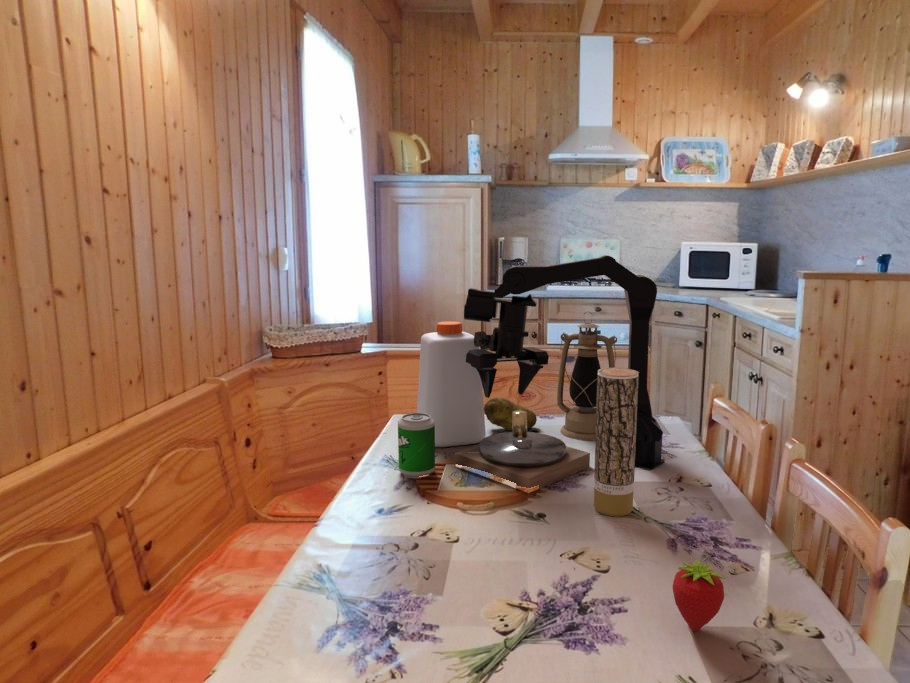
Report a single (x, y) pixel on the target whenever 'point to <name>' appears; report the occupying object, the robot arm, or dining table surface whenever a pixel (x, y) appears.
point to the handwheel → (522, 446)
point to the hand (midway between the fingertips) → (504, 395)
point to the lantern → (583, 381)
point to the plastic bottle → (450, 386)
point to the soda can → (416, 444)
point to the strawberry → (698, 594)
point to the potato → (506, 413)
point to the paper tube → (615, 440)
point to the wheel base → (527, 475)
